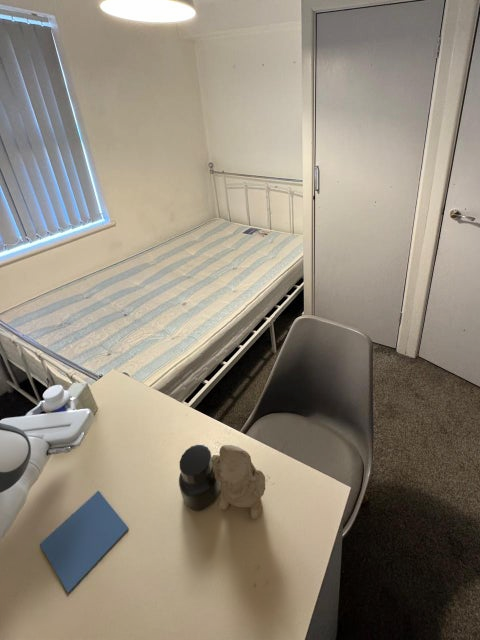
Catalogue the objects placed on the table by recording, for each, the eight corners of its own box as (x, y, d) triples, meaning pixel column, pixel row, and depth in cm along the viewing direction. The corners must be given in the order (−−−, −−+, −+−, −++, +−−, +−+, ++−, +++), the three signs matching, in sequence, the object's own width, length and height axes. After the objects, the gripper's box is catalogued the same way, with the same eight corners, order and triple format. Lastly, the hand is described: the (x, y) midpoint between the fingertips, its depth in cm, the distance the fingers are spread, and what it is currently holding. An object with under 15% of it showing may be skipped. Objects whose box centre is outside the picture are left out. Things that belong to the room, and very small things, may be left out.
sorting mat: (40, 545, 67) (39, 544, 67) (98, 491, 76) (98, 490, 76) (68, 593, 61) (67, 593, 61) (129, 529, 70) (128, 528, 70)
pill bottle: (47, 430, 79) (33, 403, 74) (58, 410, 83) (45, 384, 79) (72, 426, 79) (59, 399, 75) (81, 407, 84) (69, 380, 80)
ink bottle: (214, 462, 82) (208, 431, 77) (229, 493, 76) (223, 462, 71) (176, 487, 77) (167, 456, 72) (188, 523, 71) (179, 491, 66)
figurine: (209, 512, 72) (196, 458, 64) (225, 479, 79) (216, 425, 70) (260, 535, 69) (254, 480, 60) (273, 498, 75) (269, 443, 67)
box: (85, 407, 97) (74, 381, 92) (98, 408, 97) (88, 381, 92) (73, 424, 92) (60, 397, 87) (87, 424, 92) (76, 397, 87)
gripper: (72, 441, 67) (100, 386, 80) (-36, 455, 65) (10, 396, 77) (81, 459, 70) (107, 404, 82) (-22, 473, 68) (20, 414, 80)
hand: (59, 400), depth 80 cm, fingers closed on pill bottle, 5 cm apart
